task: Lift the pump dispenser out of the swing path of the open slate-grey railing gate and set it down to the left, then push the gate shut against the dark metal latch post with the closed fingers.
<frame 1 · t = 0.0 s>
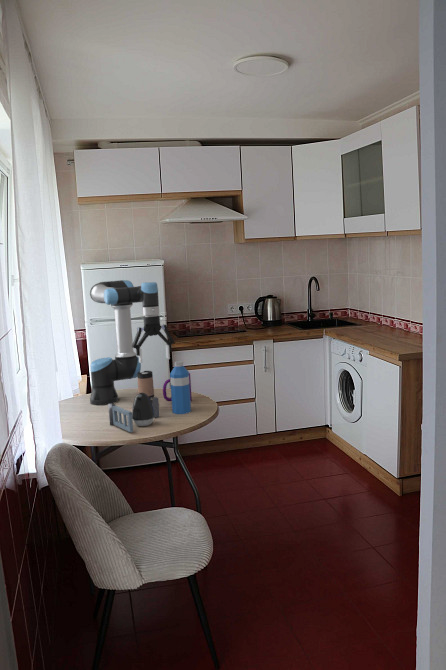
hand: (154, 360, 266), 28 cm above the table, fingers open, 13 cm apart
pump dispenser: (143, 425, 261), on the table
hinge post: (113, 424, 263), on the table
travel mug: (147, 411, 283), on the table
mug: (177, 402, 298), on the table
water bottle: (181, 412, 280), on the table
latch post: (155, 416, 273), on the table
gate: (122, 418, 254), point 5 cm above the table, hinge at 80.0°
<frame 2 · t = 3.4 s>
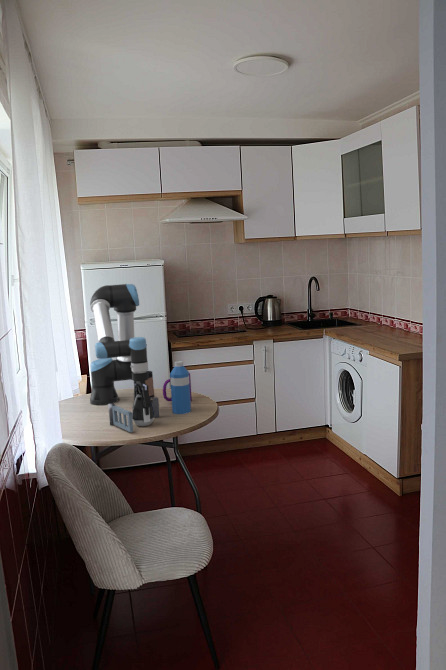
hand: (143, 418, 260), 3 cm above the table, fingers closed on pump dispenser, 10 cm apart
pump dispenser: (143, 425, 261), on the table, touching gripper
everything else where it was.
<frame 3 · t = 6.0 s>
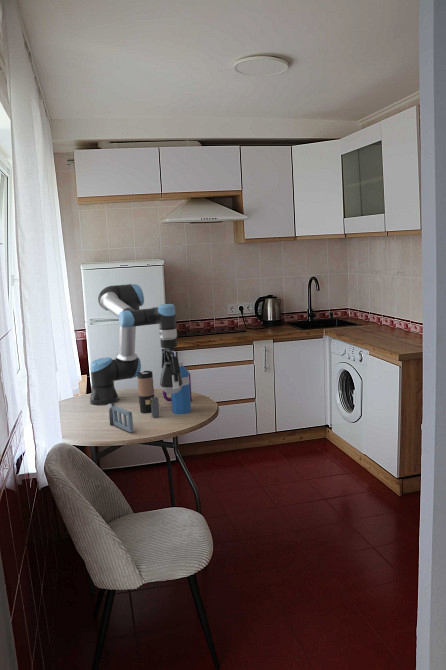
hand: (171, 386, 259), 17 cm above the table, fingers closed on pump dispenser, 10 cm apart
pump dispenser: (172, 392, 260), point 14 cm above the table, touching gripper
everything else where it was.
when the fingers open (4 cm above the table, at t = 8.5 s): pump dispenser stays where it is, on the table.
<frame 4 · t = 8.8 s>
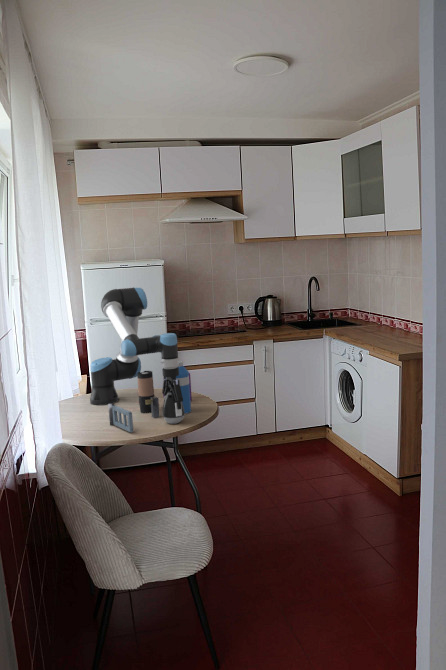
hand: (173, 412, 261), 5 cm above the table, fingers open, 13 cm apart
pump dispenser: (174, 422, 262), on the table
everything else where it was.
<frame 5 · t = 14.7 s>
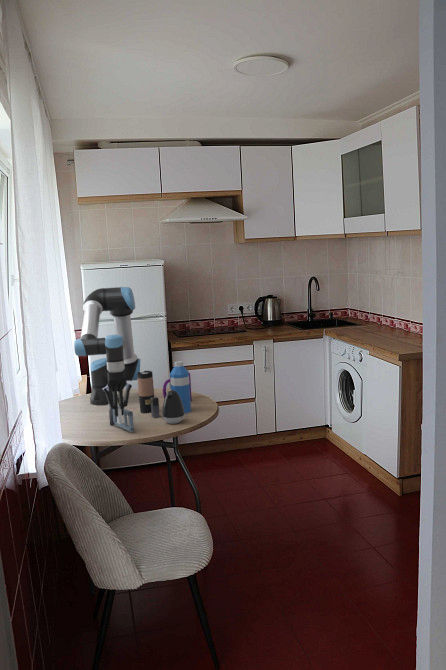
hand: (119, 423, 250), 4 cm above the table, fingers closed
gate: (123, 418, 254), point 5 cm above the table, hinge at 78.7°, touching gripper
everything else where it was.
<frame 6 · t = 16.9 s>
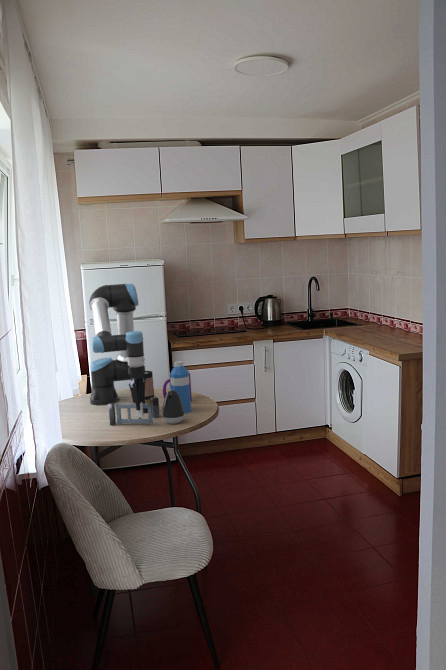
hand: (140, 416, 257), 5 cm above the table, fingers closed
gate: (134, 413, 261), point 5 cm above the table, hinge at 34.6°, touching gripper
everything else where it was.
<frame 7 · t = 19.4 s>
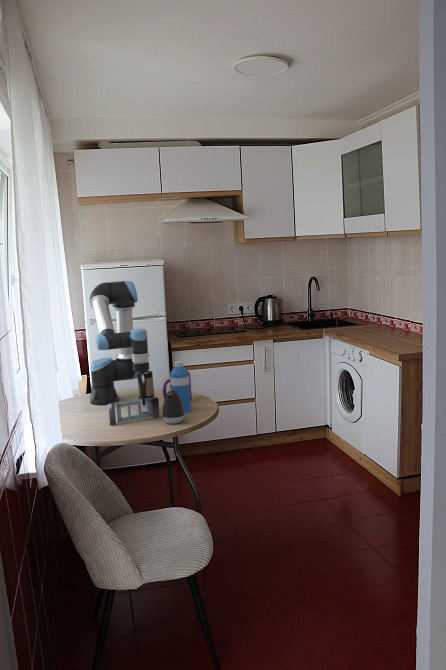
hand: (144, 411, 266), 5 cm above the table, fingers closed
gate: (134, 410, 267), point 5 cm above the table, hinge at 0.5°, touching gripper
everything else where it was.
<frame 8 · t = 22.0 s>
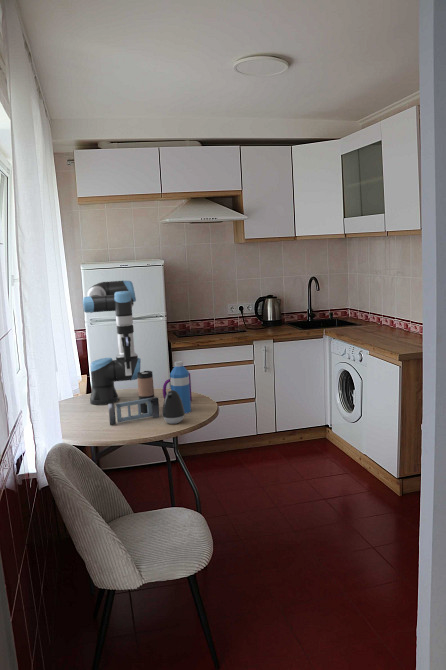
hand: (128, 375, 263), 22 cm above the table, fingers closed
gate: (134, 410, 267), point 5 cm above the table, hinge at -0.2°
everything else where it was.
at the end: gate at +0° (first picture: +80°); pump dispenser inside the target area (0.1 cm from its centre), on the table; pump dispenser tilted 0° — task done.
